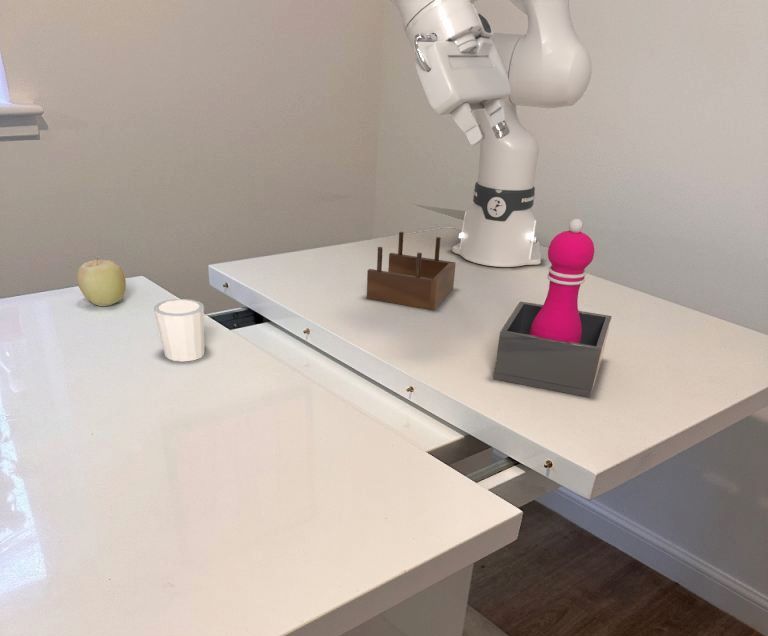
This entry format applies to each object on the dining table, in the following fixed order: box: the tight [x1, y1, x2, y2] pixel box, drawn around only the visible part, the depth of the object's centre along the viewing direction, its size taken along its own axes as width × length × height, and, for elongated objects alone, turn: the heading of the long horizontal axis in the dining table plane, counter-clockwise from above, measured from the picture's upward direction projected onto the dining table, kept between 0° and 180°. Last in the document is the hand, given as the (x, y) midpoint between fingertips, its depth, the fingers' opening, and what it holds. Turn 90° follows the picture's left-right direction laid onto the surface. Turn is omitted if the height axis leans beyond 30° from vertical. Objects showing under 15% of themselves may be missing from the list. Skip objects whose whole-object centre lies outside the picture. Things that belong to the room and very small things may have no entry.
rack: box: [366, 231, 457, 311], centre depth 127 cm, size 12×12×9 cm
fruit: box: [76, 254, 127, 307], centre depth 117 cm, size 8×7×8 cm
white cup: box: [153, 298, 206, 362], centre depth 102 cm, size 7×7×7 cm
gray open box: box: [493, 301, 612, 398], centre depth 103 cm, size 14×14×7 cm
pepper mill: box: [529, 218, 595, 343], centre depth 99 cm, size 7×7×20 cm
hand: (492, 139), depth 96 cm, fingers open, 8 cm apart
